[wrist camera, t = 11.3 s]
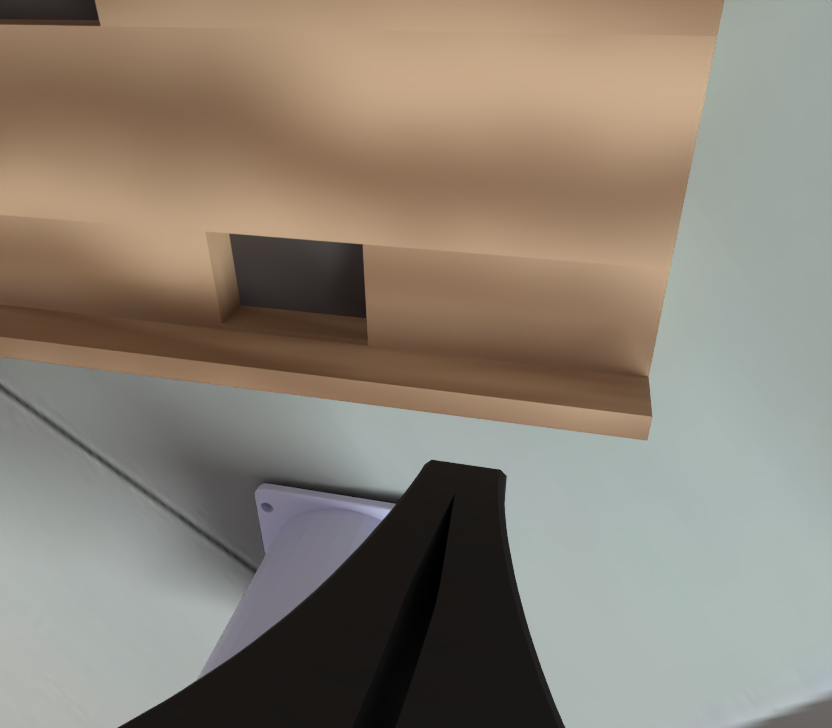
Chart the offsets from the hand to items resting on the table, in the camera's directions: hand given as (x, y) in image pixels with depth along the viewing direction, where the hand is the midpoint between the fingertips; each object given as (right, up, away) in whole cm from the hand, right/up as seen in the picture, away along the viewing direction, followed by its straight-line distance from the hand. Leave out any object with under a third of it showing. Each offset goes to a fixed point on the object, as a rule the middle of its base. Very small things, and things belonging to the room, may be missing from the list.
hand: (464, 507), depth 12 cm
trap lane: (-8, +10, +9) cm, 15 cm away
